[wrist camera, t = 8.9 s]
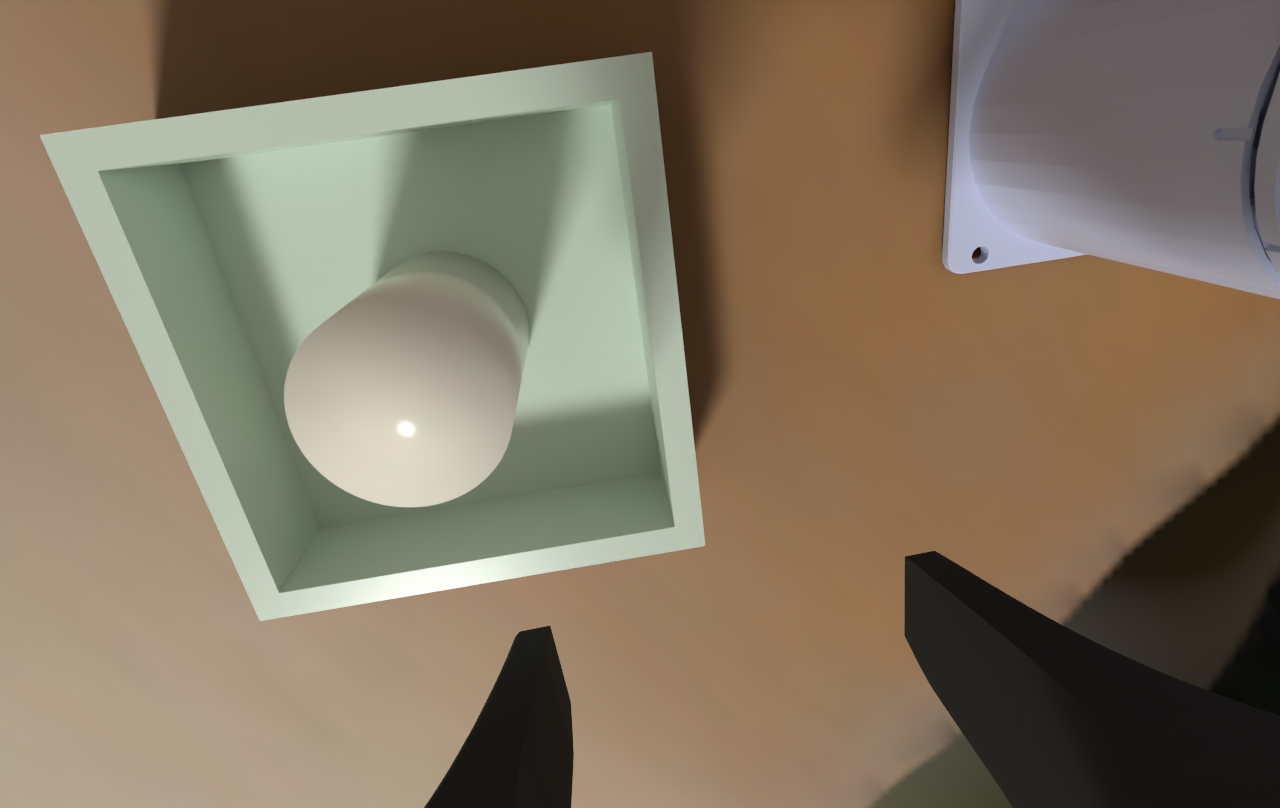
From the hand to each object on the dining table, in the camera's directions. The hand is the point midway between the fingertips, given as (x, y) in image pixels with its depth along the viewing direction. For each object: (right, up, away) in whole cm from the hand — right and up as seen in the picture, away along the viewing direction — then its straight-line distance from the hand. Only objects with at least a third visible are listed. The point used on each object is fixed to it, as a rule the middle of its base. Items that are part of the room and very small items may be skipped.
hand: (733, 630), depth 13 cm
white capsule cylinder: (-7, +7, +6) cm, 11 cm away
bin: (-7, +7, +7) cm, 12 cm away
